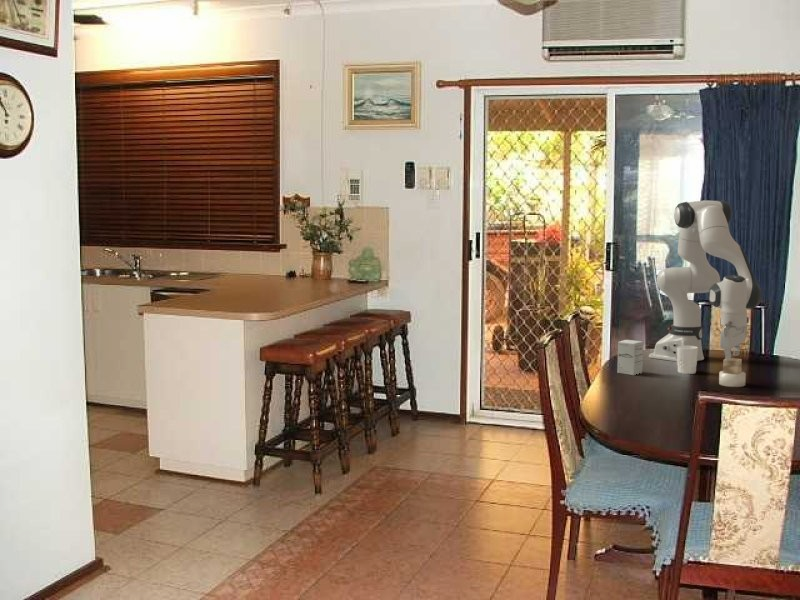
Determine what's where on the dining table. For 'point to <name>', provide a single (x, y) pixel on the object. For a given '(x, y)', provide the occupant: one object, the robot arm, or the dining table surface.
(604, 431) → the dining table surface
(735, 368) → the beech block
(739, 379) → the white rounded lump
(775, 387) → the dining table surface
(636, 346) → the supplement box
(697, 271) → the robot arm
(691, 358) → the white cup
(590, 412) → the dining table surface
